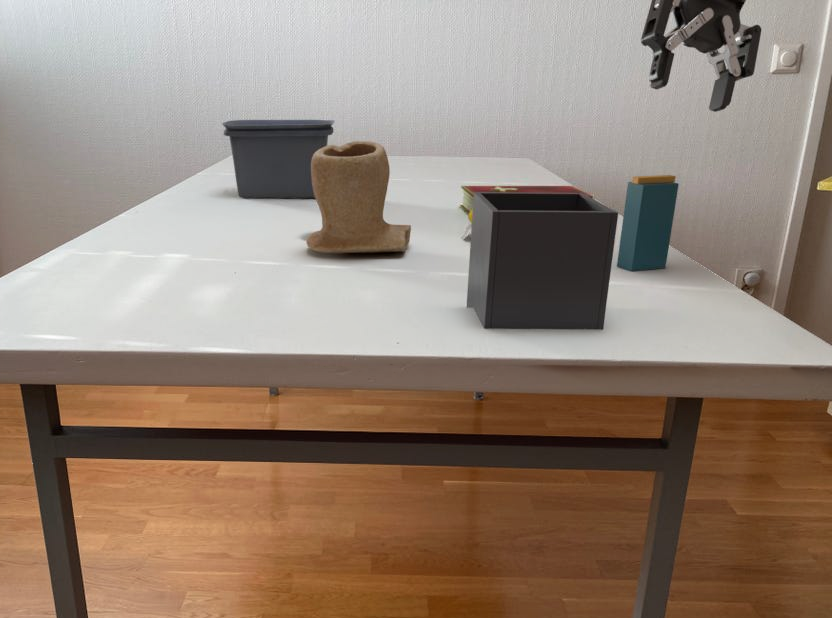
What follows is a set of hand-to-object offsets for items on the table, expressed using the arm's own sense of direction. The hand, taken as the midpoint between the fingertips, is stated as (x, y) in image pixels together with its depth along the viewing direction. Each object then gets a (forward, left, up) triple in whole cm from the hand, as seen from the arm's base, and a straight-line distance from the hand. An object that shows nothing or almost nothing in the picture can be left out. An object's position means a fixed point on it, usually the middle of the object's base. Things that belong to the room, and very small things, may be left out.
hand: (688, 98), depth 90 cm
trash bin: (+21, +20, -21) cm, 36 cm away
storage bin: (+53, -64, -22) cm, 85 cm away
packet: (+1, -5, -21) cm, 22 cm away
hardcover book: (+8, -45, -22) cm, 51 cm away
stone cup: (+38, -12, -22) cm, 45 cm away
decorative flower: (+17, -25, -22) cm, 37 cm away
